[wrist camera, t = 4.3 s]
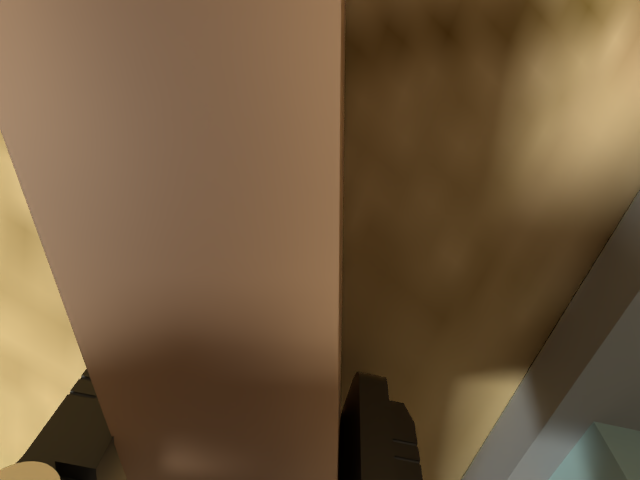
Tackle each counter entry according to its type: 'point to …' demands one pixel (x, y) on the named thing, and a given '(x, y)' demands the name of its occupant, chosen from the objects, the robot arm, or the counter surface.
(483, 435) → the counter surface
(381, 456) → the robot arm
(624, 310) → the ridge stand
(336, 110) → the walnut bar
